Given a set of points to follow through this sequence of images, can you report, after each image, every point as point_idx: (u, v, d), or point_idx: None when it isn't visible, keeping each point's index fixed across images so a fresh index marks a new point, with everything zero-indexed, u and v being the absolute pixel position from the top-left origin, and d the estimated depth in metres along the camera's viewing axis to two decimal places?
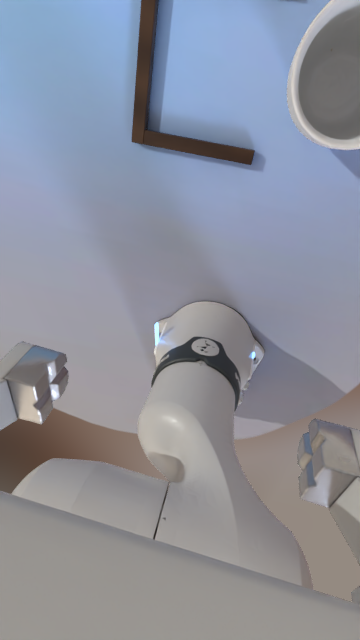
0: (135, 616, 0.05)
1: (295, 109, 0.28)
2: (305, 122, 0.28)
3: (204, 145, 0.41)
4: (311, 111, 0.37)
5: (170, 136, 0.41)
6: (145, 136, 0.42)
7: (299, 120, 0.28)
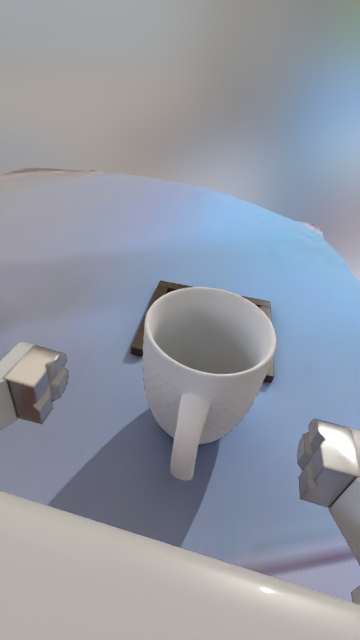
0: (135, 616, 0.05)
1: (182, 288, 0.31)
2: (171, 295, 0.30)
3: None
4: None
5: None
6: (163, 287, 0.51)
7: (173, 291, 0.30)
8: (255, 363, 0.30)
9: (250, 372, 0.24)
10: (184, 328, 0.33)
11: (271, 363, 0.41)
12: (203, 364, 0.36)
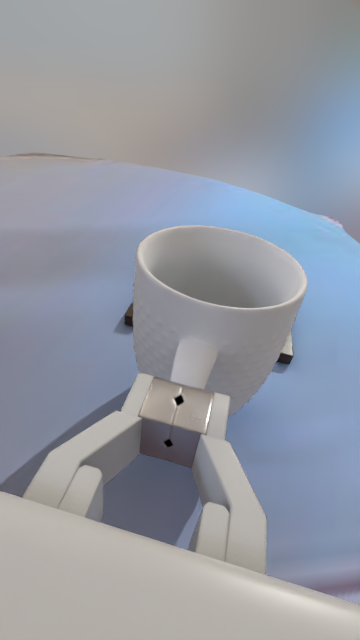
0: (135, 616, 0.05)
1: (187, 226, 0.25)
2: (173, 231, 0.24)
3: None
4: None
5: None
6: None
7: None
8: None
9: (274, 309, 0.17)
10: (188, 282, 0.27)
11: (290, 342, 0.34)
12: None
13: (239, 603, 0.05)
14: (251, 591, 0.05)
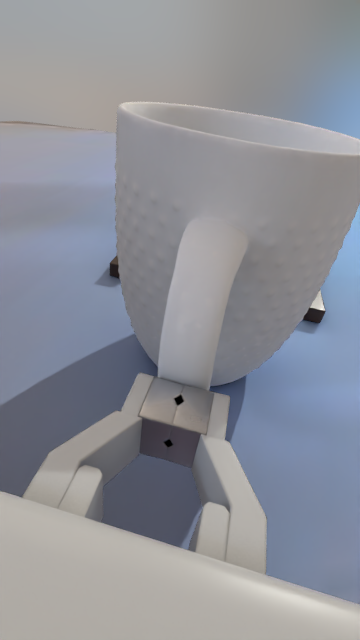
0: (135, 616, 0.05)
1: None
2: (173, 108, 0.17)
3: None
4: None
5: None
6: None
7: None
8: None
9: (345, 158, 0.10)
10: None
11: (319, 296, 0.27)
12: None
13: (239, 603, 0.05)
14: (251, 591, 0.05)
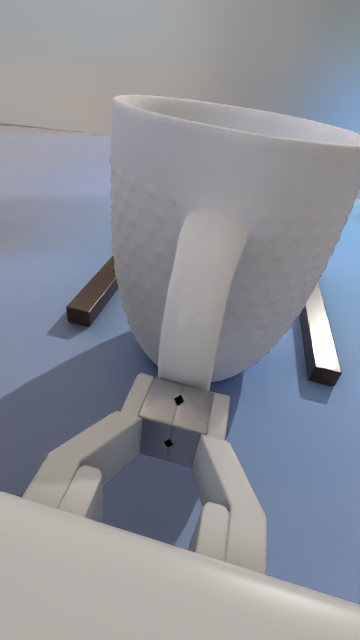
0: (135, 616, 0.05)
1: None
2: (167, 102, 0.17)
3: None
4: None
5: None
6: None
7: None
8: None
9: (344, 149, 0.10)
10: None
11: (332, 349, 0.21)
12: None
13: (239, 603, 0.05)
14: (251, 591, 0.05)
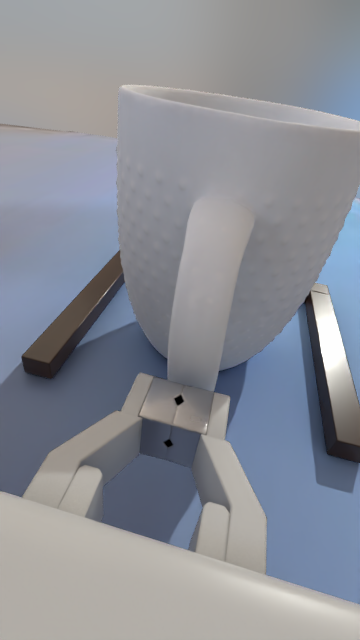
0: (135, 616, 0.05)
1: None
2: (171, 92, 0.17)
3: (93, 299, 0.22)
4: None
5: (121, 270, 0.25)
6: None
7: None
8: None
9: (349, 133, 0.11)
10: None
11: (357, 412, 0.17)
12: None
13: (239, 603, 0.05)
14: (251, 591, 0.05)
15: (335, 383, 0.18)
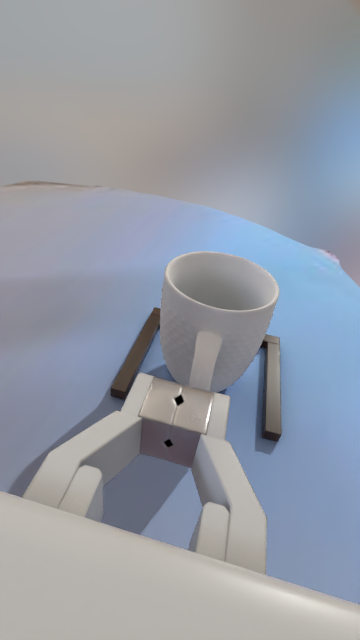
0: (135, 616, 0.05)
1: (195, 252, 0.35)
2: (186, 256, 0.34)
3: (140, 352, 0.39)
4: None
5: (153, 330, 0.42)
6: (157, 315, 0.45)
7: None
8: None
9: (258, 310, 0.27)
10: (196, 291, 0.37)
11: (278, 416, 0.34)
12: None
13: (239, 603, 0.05)
14: (251, 591, 0.05)
15: (270, 401, 0.35)
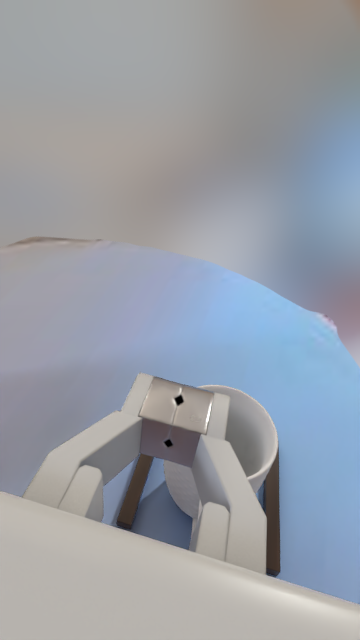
0: (135, 616, 0.05)
1: (197, 387, 0.36)
2: None
3: (144, 470, 0.40)
4: None
5: None
6: None
7: None
8: (259, 452, 0.36)
9: (258, 476, 0.29)
10: None
11: (277, 548, 0.35)
12: None
13: (239, 603, 0.05)
14: (251, 591, 0.05)
15: (269, 528, 0.37)
